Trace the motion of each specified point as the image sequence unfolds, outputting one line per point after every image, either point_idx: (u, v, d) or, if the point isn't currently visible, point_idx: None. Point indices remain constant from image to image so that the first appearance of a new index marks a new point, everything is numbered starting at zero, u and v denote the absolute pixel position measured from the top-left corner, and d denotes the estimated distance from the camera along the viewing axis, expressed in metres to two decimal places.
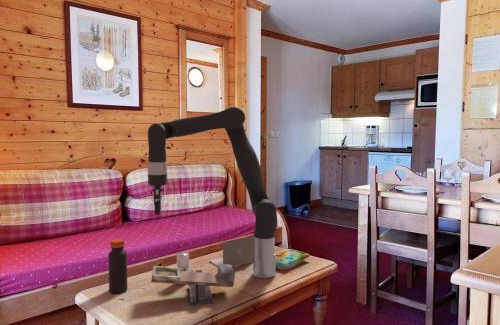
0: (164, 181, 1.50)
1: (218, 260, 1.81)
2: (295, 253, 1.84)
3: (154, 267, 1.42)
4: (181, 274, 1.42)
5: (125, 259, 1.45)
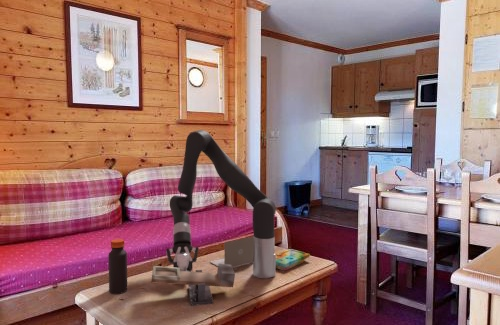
0: (176, 238, 1.60)
1: (218, 261, 1.80)
2: (295, 253, 1.84)
3: (154, 267, 1.42)
4: (181, 274, 1.42)
5: (125, 259, 1.45)
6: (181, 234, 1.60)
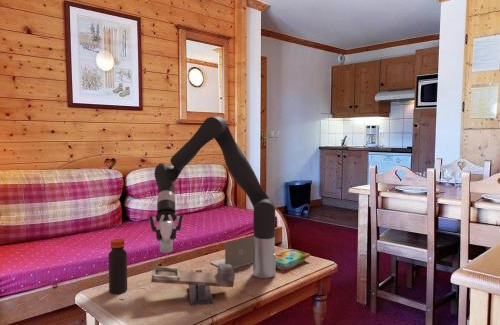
0: (159, 206, 1.55)
1: (218, 261, 1.80)
2: (295, 253, 1.84)
3: (154, 267, 1.42)
4: (181, 274, 1.42)
5: (125, 259, 1.45)
6: (165, 202, 1.55)
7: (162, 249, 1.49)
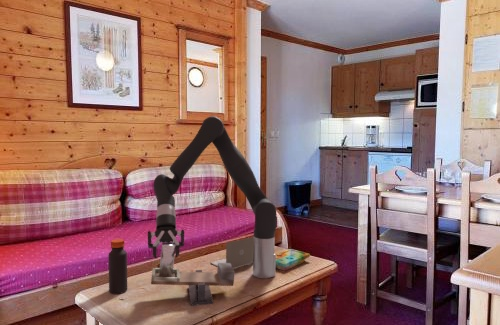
0: (158, 221, 1.44)
1: (219, 261, 1.79)
2: (295, 253, 1.84)
3: (153, 269, 1.42)
4: (181, 275, 1.42)
5: (125, 259, 1.45)
6: (165, 217, 1.44)
7: (162, 274, 1.38)
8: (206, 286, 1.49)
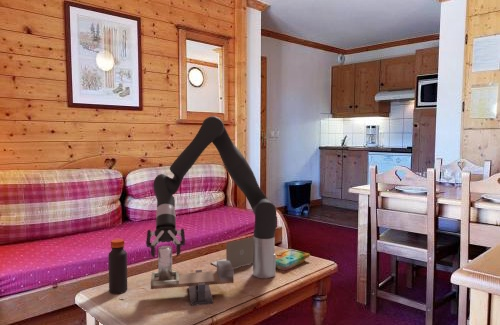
0: (158, 221, 1.44)
1: None
2: (295, 252, 1.84)
3: (153, 273, 1.42)
4: (180, 277, 1.42)
5: (125, 259, 1.45)
6: (164, 216, 1.44)
7: (161, 278, 1.38)
8: (206, 286, 1.49)
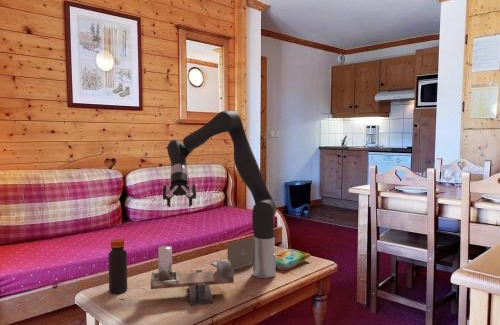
0: (173, 178, 1.65)
1: None
2: (296, 253, 1.84)
3: (153, 273, 1.42)
4: (180, 277, 1.42)
5: (125, 259, 1.45)
6: (178, 174, 1.66)
7: (161, 278, 1.38)
8: (206, 286, 1.49)
